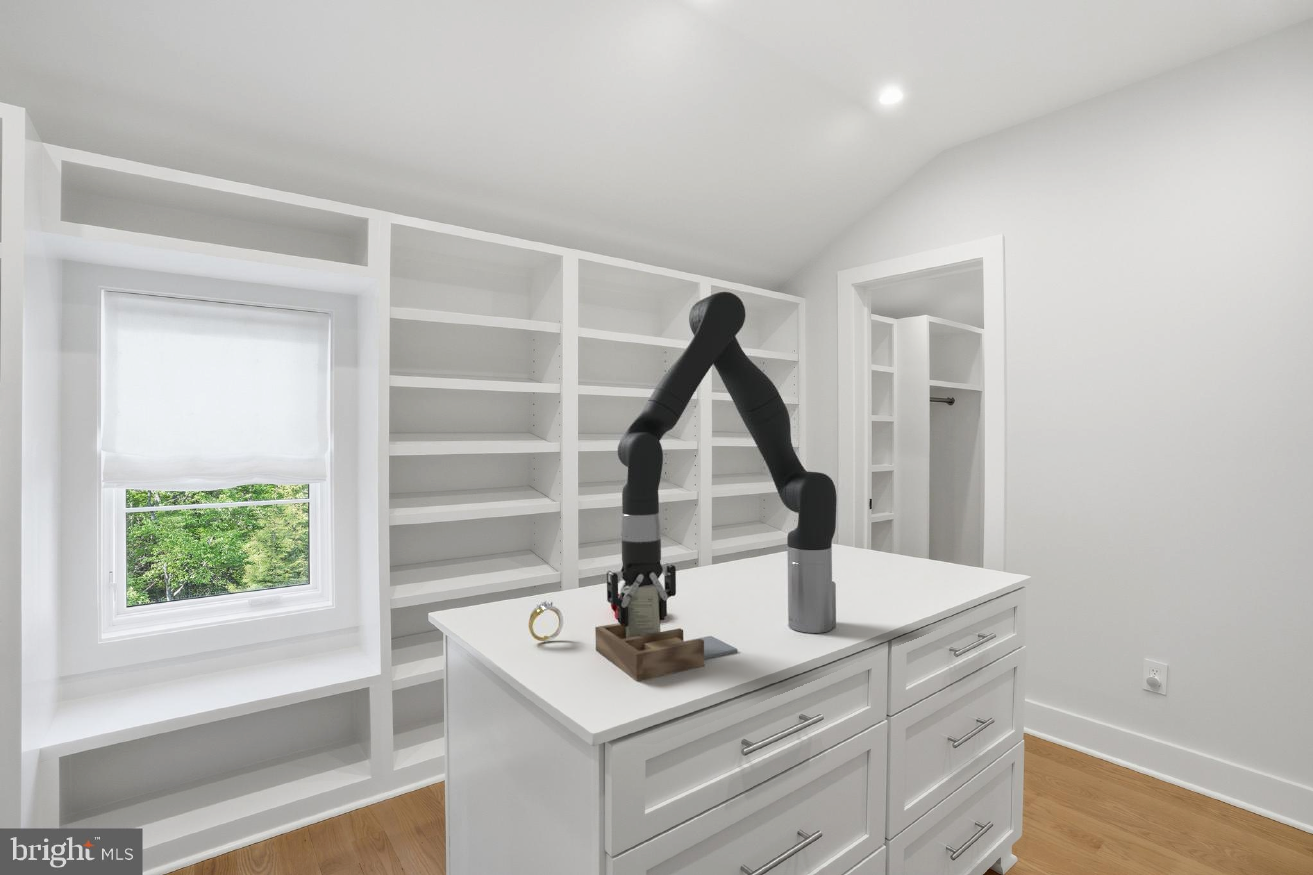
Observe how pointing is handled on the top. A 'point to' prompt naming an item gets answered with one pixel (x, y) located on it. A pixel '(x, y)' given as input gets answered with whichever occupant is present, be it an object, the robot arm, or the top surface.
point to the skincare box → (643, 611)
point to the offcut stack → (662, 643)
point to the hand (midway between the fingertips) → (642, 622)
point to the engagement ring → (537, 612)
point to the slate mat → (715, 647)
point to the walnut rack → (648, 652)
